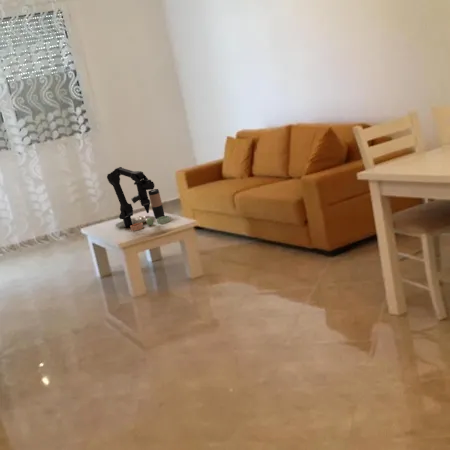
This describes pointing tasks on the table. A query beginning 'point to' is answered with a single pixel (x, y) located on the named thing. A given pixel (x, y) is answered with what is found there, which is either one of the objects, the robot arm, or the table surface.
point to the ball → (149, 221)
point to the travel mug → (156, 203)
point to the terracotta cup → (136, 226)
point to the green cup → (163, 219)
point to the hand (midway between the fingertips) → (147, 211)
